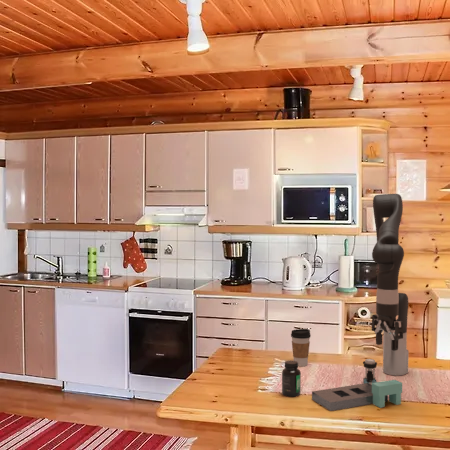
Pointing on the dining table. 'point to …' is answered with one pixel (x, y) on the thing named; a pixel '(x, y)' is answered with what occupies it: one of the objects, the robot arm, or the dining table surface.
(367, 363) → the push button
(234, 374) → the dining table surface
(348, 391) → the grey slotted board
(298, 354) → the coffee cup
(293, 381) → the supplement bottle
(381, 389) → the mint green notched block
